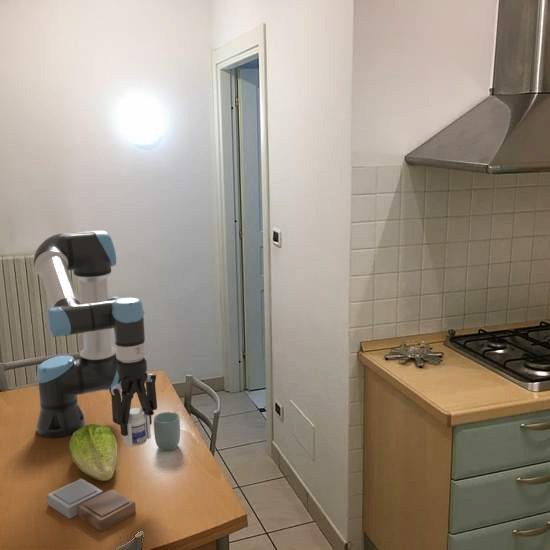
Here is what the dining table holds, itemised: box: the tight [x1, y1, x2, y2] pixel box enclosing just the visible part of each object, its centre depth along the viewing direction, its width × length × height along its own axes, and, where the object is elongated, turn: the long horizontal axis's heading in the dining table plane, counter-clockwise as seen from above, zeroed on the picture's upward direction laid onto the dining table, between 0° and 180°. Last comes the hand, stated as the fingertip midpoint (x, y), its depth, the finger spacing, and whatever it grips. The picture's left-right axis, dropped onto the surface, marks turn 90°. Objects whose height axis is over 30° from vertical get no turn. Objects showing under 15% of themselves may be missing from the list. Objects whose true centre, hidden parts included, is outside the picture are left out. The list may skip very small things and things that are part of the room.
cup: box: [152, 411, 181, 452], centre depth 192 cm, size 8×8×10 cm
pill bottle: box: [128, 407, 148, 447], centre depth 167 cm, size 5×5×9 cm
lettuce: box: [68, 423, 118, 481], centre depth 181 cm, size 12×24×13 cm
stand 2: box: [78, 489, 137, 533], centre depth 158 cm, size 10×10×3 cm
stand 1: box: [46, 478, 104, 519], centre depth 164 cm, size 10×10×3 cm
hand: (137, 441), depth 167 cm, fingers closed on pill bottle, 5 cm apart
